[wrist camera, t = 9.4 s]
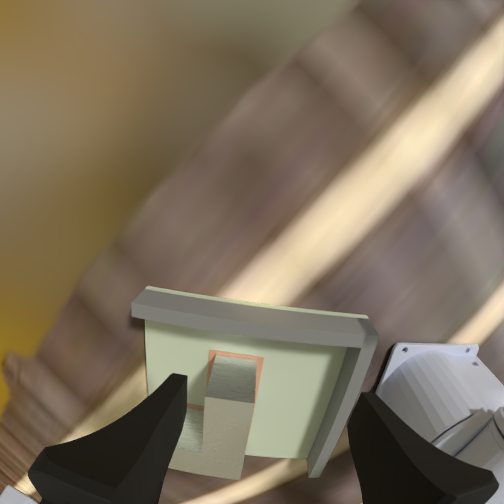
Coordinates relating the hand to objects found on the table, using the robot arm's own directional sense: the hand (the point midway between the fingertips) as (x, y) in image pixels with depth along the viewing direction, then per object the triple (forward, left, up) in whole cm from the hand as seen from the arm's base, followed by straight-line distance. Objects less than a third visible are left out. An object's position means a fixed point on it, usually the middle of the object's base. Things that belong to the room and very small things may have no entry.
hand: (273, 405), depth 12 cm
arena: (+1, +8, -10) cm, 13 cm away
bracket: (+4, +9, -10) cm, 14 cm away
